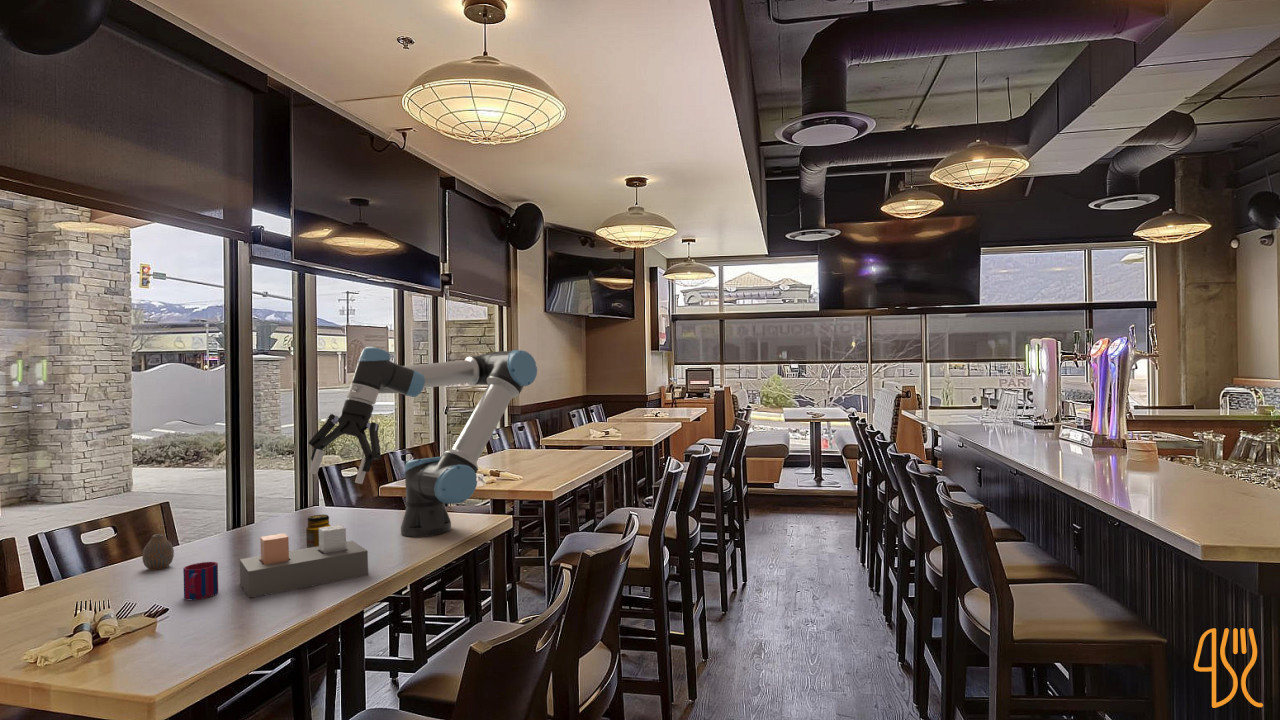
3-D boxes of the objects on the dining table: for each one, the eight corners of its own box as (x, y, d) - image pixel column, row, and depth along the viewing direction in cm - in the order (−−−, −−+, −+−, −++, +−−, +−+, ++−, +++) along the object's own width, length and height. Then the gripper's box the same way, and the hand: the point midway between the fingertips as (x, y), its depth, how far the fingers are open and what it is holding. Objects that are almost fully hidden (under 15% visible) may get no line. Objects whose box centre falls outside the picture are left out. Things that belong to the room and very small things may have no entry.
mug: (223, 589, 164) (222, 560, 164) (204, 603, 154) (204, 572, 155) (192, 592, 163) (191, 563, 163) (171, 606, 153) (170, 575, 153)
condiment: (336, 560, 188) (335, 515, 188) (303, 567, 182) (302, 521, 182) (326, 555, 193) (325, 512, 193) (294, 562, 187) (293, 517, 187)
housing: (352, 563, 184) (352, 540, 184) (368, 574, 173) (367, 550, 173) (240, 584, 168) (239, 559, 168) (248, 598, 157) (248, 571, 157)
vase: (136, 571, 183) (135, 537, 183) (159, 564, 190) (159, 531, 190) (157, 572, 181) (156, 538, 182) (180, 564, 188) (179, 532, 188)
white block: (341, 548, 178) (340, 524, 178) (346, 552, 174) (345, 528, 174) (319, 551, 175) (318, 528, 175) (324, 556, 171) (323, 531, 171)
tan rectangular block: (284, 557, 170) (284, 533, 170) (289, 562, 166) (288, 536, 166) (260, 561, 167) (260, 536, 167) (264, 566, 163) (263, 540, 163)
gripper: (312, 391, 190) (285, 467, 184) (395, 406, 185) (370, 485, 180) (327, 397, 197) (302, 471, 191) (407, 413, 192) (384, 489, 187)
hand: (335, 478), depth 185 cm, fingers open, 13 cm apart
